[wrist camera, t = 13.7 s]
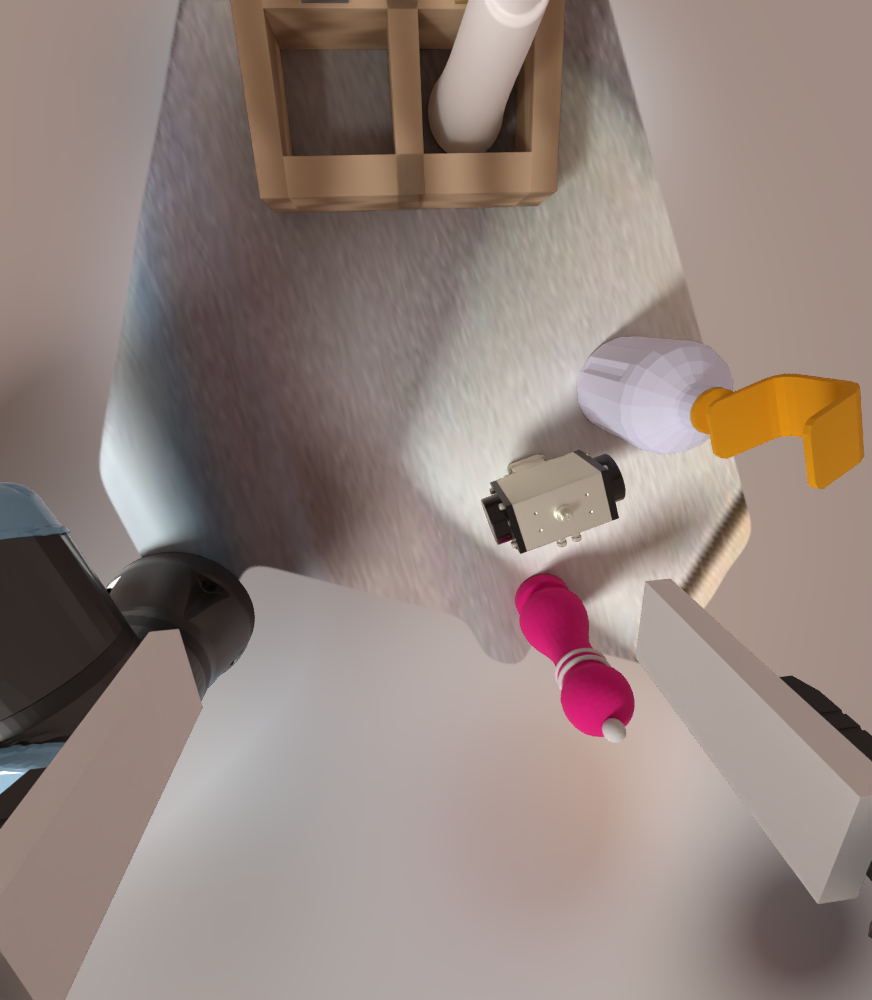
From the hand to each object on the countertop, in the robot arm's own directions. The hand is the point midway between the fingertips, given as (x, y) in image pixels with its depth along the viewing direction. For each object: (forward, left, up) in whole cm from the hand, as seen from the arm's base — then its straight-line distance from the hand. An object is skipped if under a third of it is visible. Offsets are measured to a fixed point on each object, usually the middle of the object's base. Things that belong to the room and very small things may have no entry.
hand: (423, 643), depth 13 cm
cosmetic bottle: (+7, +24, -35) cm, 43 cm away
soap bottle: (+22, +2, -35) cm, 41 cm away
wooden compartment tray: (+2, +24, -35) cm, 42 cm away
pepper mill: (+15, -22, -35) cm, 44 cm away
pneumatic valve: (+13, -7, -35) cm, 38 cm away
